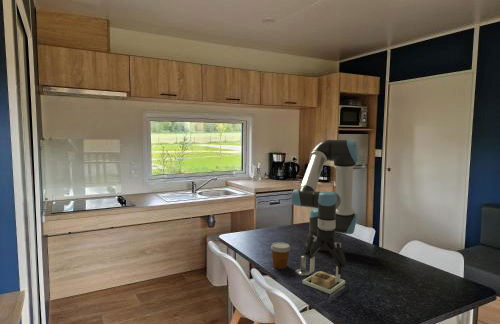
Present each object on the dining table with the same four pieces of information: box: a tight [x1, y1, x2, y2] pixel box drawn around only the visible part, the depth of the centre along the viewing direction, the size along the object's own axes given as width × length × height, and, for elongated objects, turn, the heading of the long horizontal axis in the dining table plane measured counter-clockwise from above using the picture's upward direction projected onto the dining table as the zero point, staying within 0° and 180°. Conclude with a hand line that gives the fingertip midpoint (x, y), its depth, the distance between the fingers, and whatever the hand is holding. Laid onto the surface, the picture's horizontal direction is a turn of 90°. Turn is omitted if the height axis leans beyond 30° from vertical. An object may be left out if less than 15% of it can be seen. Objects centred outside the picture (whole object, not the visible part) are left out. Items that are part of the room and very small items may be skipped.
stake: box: [294, 255, 311, 276], centre depth 150 cm, size 7×7×9 cm
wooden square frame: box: [310, 270, 338, 290], centre depth 139 cm, size 8×9×4 cm
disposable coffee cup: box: [270, 241, 291, 270], centre depth 156 cm, size 10×10×12 cm
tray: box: [301, 271, 346, 298], centre depth 139 cm, size 13×13×3 cm
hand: (324, 276), depth 139 cm, fingers open, 12 cm apart
